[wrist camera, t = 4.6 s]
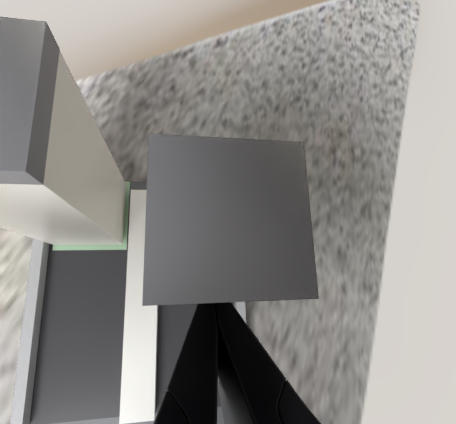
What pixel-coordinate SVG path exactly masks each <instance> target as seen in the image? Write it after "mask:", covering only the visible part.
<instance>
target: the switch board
mask: <svg viewBox="0 0 456 424" xmlns="http://www.w3.org/2000/svg"><path fill="white" fill-rule="evenodd" d="M125 183H126V195H125V214H124V232H123V244H114V245H52V244H49V243H46V242H43V241H40V240H37V239H34V238H33V244H32V252H31V260H30V268H29V276H28V284H27V292H26V300H25V308H24V316H23V324H22V332H21V340H20V348H19V356H18V364H17V372H16V380H15V388H14V396H13V404H12V412H11V420H10V424H154V421H155V419H156V416H157V414H158V411H159V409H160V406H161V403H162V401H163V398H164V395H165V392H166V391H167V387H168V384H169V382H170V379H171V376H172V373H173V370H174V368H175V365H176V362H177V359H178V356H179V354H180V351H181V348H182V345H183V342H184V340H185V337H186V334H187V331H188V328H189V326H190V323H191V320H192V317H193V314H194V312H195V309H196V306H197V304H176V305H152V306H142V301H143V274H144V246H145V219H146V192H147V182H129V181H125ZM231 303H232V304H233V306H234V307H235V308H236V310H237V311H238V312H239V314H240V315H241V317H242V318H243V319H244V321H245V322H246V307H245V302H231ZM217 424H225V423H224V418H223V412H222V406H221V401H220V395H219V390H217Z"/></svg>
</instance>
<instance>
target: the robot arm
mask: <svg viewBox="0 0 456 424" xmlns="http://www.w3.org/2000/svg"><path fill="white" fill-rule="evenodd" d="M285 380H286V378H285V377H284V375H283V374H282V372H281V371H280V370H279V368H278V367H277V365H276V364H275V363H274V361H273V360H272V358H271V357H270V356H269V354H268V353H267V351H266V350H265V349H264V347H263V346H262V345H261V343H260V342H259V340H258V339H257V338H256V336H255V335H254V333H253V332H252V331H251V329H250V328H249V326H248V325H247V324H246V322H245V321H244V319H243V318H242V317H241V315H240V314H239V312H238V311H237V310H236V308H235V307H234V306H233V304H232V303H231V302H225V303H201V304H197V306H196V309H195V312H194V314H193V317H192V320H191V323H190V326H189V328H188V331H187V334H186V337H185V340H184V342H183V345H182V348H181V351H180V354H179V356H178V359H177V362H176V365H175V368H174V370H173V373H172V376H171V379H170V382H169V384H168V387H167V391H166V392H165V395H164V398H163V401H162V403H161V406H160V409H159V411H158V414H157V416H156V419H155V421H154V424H217V390H219V395H220V401H221V406H222V412H223V418H224V423H225V424H321V423H320V422H319V421H318V419H317V418H316V417H315V416H314V415H313V413H312V412H311V411H310V410H309V409H308V408H307V406H306V405H305V404H304V402H303V401H302V400H301V398H300V397H299V396H298V394H297V393H296V392H295V390H294V389H293V388H292V386H291V385H290V383H289V382H288V381H287V380H286V381H285Z"/></svg>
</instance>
